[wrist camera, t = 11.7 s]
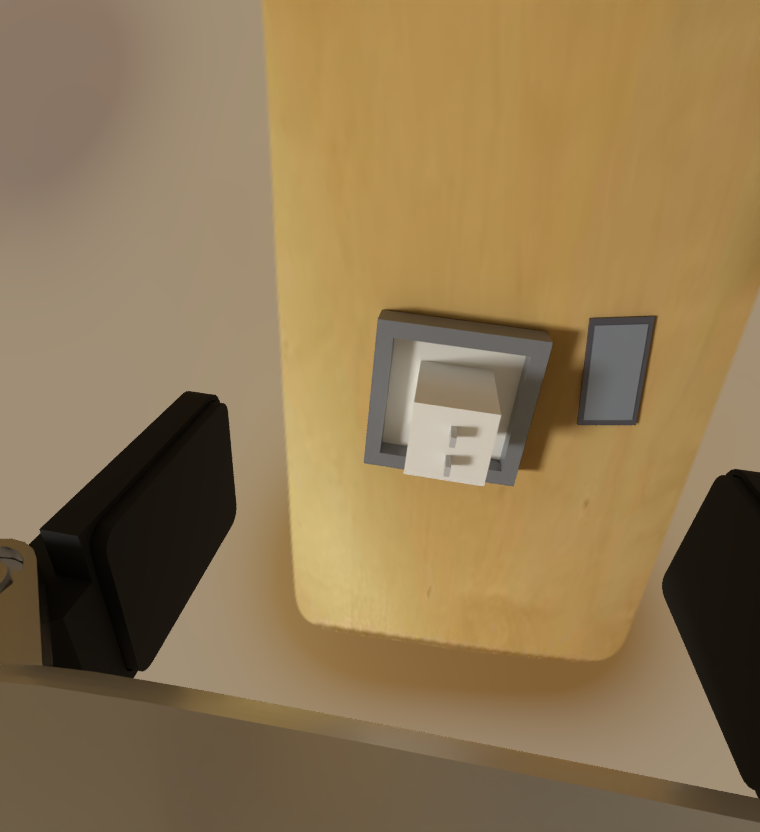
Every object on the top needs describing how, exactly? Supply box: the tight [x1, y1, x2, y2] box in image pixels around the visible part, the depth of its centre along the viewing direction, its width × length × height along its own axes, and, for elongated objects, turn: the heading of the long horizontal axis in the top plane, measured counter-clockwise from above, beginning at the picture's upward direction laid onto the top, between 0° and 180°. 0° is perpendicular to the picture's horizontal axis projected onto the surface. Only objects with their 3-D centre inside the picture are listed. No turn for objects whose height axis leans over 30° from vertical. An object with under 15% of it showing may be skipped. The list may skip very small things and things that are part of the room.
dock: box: [364, 310, 553, 486], centre depth 32 cm, size 10×10×2 cm
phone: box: [577, 316, 655, 425], centre depth 31 cm, size 7×4×1 cm, turn 4°
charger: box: [404, 361, 501, 486], centre depth 29 cm, size 5×4×7 cm
